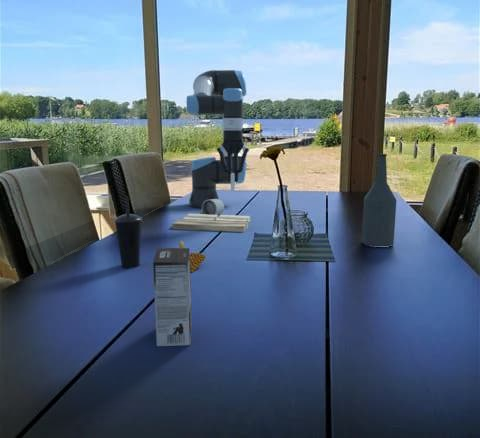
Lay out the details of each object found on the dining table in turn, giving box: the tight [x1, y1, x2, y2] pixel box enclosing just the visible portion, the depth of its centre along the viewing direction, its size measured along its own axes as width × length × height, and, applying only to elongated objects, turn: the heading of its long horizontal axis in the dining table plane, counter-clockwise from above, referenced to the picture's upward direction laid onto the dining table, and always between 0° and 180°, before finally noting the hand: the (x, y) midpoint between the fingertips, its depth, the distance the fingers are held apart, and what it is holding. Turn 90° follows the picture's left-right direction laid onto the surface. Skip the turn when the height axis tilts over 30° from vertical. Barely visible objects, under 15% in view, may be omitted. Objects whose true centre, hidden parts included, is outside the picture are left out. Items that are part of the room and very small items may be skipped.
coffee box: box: [152, 247, 192, 347], centre depth 85 cm, size 9×6×16 cm
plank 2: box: [216, 214, 251, 224], centre depth 183 cm, size 9×12×2 cm
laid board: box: [171, 218, 249, 233], centre depth 175 cm, size 9×28×2 cm, turn 79°
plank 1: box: [182, 213, 219, 220], centre depth 185 cm, size 9×12×2 cm
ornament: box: [178, 241, 206, 273], centre depth 129 cm, size 7×10×15 cm
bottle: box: [361, 153, 397, 246], centre depth 148 cm, size 10×10×30 cm
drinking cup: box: [113, 195, 143, 269], centre depth 127 cm, size 8×8×20 cm
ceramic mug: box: [198, 198, 225, 216], centre depth 199 cm, size 11×8×8 cm
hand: (233, 189), depth 181 cm, fingers closed
